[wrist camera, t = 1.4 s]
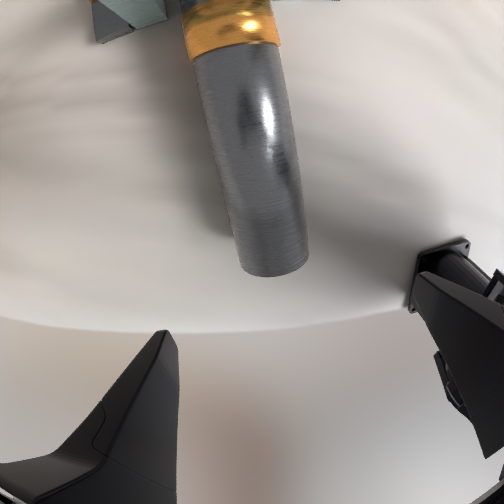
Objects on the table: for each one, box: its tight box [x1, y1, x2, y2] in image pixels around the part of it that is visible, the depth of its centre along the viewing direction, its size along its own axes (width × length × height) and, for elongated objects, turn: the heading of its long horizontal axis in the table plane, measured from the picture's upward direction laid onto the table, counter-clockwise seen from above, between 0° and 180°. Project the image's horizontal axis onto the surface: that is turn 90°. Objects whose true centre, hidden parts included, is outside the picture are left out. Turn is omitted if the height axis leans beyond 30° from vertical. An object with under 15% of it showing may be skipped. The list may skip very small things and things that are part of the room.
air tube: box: [180, 0, 309, 277], centre depth 12 cm, size 18×4×4 cm, turn 10°
